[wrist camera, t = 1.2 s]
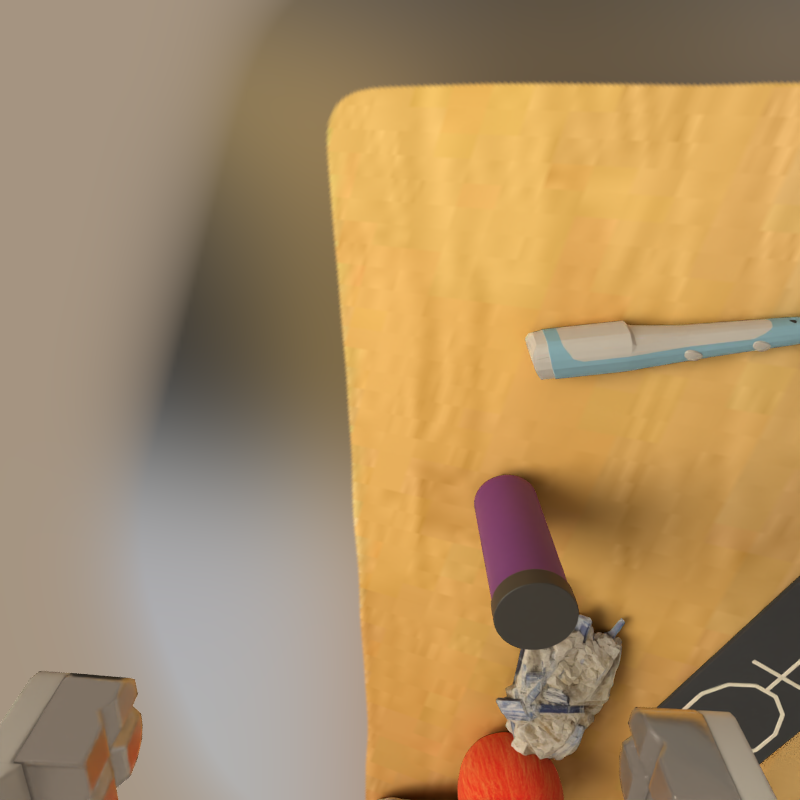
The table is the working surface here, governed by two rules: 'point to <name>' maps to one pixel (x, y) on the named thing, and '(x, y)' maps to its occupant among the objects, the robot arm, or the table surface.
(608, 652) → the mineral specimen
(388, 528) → the table surface
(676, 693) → the drawing mat
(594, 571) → the table surface
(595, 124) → the table surface
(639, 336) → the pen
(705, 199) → the table surface
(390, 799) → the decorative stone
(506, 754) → the apple
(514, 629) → the disc
